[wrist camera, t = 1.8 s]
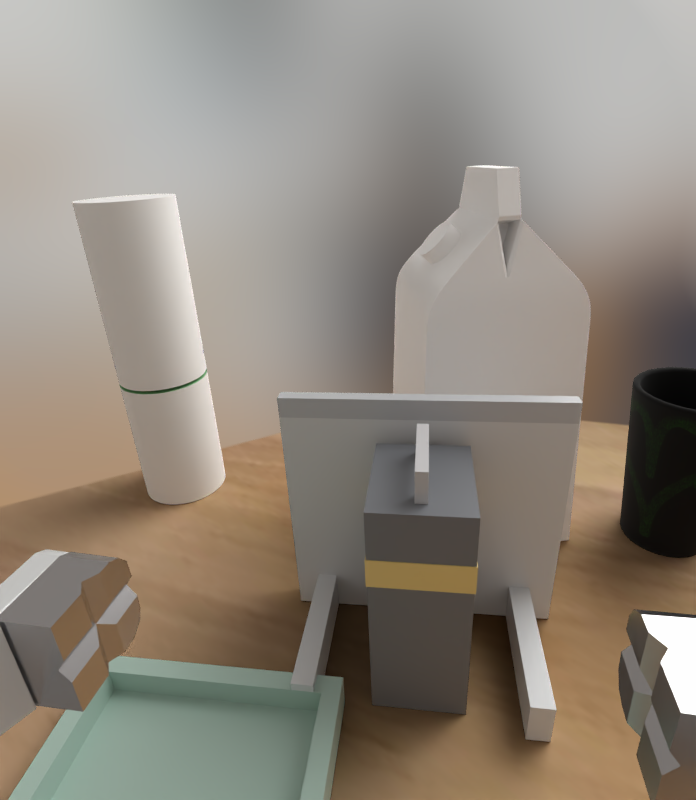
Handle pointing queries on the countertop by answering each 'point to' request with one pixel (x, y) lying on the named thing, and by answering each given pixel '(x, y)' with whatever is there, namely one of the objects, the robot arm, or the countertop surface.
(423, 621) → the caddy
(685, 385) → the cup
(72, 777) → the tray
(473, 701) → the countertop surface
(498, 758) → the countertop surface
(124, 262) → the cylindrical container
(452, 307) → the milk
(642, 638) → the robot arm
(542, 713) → the dock
